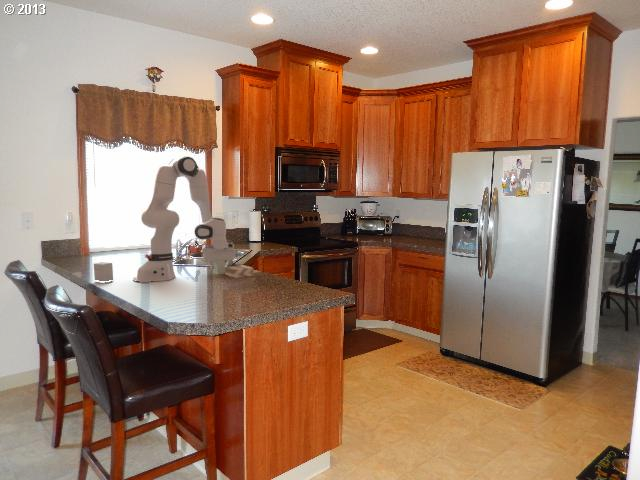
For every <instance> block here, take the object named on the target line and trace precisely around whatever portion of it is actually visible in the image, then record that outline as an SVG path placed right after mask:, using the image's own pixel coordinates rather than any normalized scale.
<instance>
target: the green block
mask: <svg viewBox="0 0 640 480" xmlns="http://www.w3.org/2000/svg"><path fill="white" fill-rule="evenodd" d="M213 266H214V269H213V273H214V274H215V275H224V274H225V260H220V261H213Z"/></svg>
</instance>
